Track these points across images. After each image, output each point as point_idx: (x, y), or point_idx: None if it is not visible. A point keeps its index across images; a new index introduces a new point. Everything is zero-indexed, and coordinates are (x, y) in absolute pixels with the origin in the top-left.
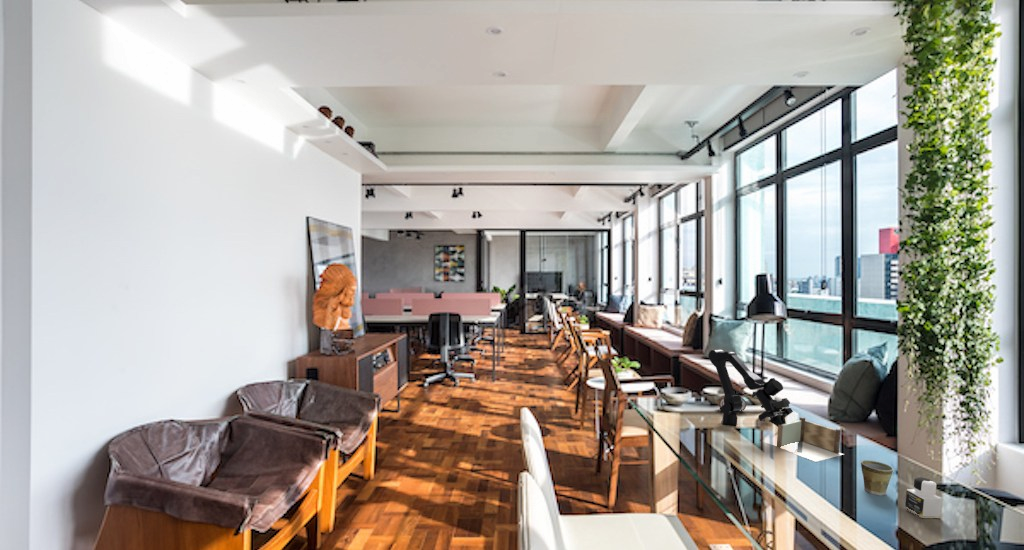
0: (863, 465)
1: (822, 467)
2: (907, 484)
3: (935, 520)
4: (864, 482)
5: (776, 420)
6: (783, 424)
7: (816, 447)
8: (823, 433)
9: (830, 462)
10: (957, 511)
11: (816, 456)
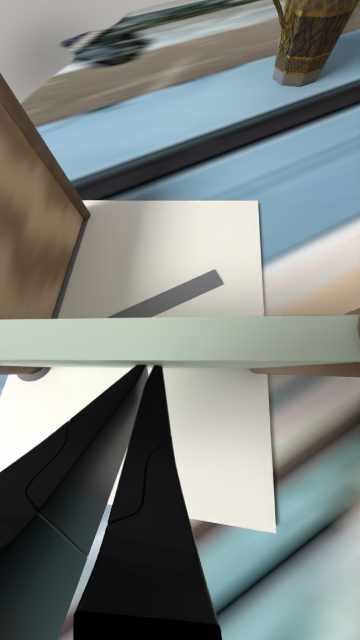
0: None
1: (276, 177)
2: (168, 76)
3: None
4: (335, 43)
5: (151, 619)
6: (270, 352)
7: (80, 276)
8: (3, 194)
9: (198, 189)
10: (225, 19)
11: (196, 225)
